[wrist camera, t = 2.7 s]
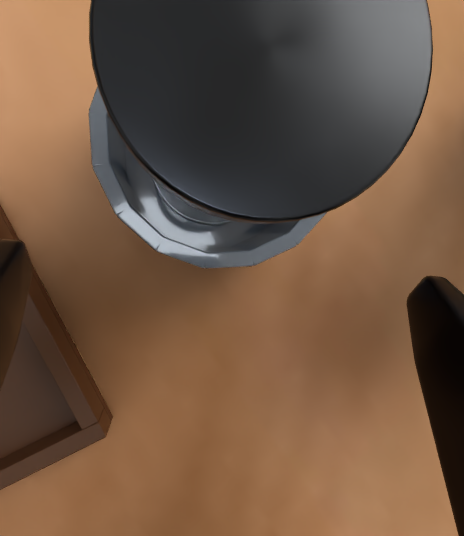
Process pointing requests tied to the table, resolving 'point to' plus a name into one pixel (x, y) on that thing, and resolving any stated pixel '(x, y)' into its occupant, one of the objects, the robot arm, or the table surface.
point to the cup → (170, 223)
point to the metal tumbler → (262, 98)
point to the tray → (45, 391)
